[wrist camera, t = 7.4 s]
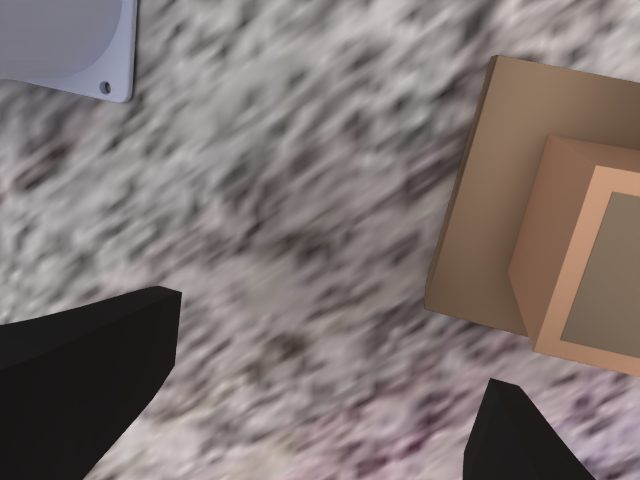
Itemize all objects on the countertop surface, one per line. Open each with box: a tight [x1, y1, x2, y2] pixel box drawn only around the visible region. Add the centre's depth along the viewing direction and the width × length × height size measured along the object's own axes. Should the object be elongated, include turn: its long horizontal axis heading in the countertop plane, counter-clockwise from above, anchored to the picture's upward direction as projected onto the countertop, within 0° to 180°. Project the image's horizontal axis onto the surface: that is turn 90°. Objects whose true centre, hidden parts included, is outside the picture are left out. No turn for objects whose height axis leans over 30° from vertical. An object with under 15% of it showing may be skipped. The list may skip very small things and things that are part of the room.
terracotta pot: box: [508, 134, 640, 377], centre depth 15 cm, size 5×5×6 cm
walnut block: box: [424, 55, 640, 337], centre depth 19 cm, size 9×9×3 cm
